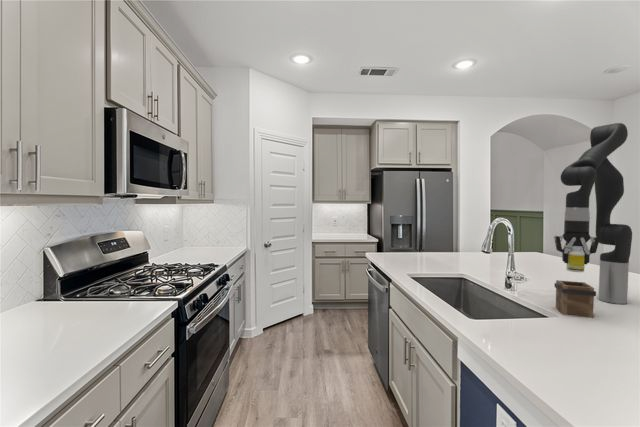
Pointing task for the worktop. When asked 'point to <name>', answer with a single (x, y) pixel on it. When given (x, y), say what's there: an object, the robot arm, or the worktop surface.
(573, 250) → the supplement bottle
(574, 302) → the brown wooden box
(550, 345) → the worktop surface
